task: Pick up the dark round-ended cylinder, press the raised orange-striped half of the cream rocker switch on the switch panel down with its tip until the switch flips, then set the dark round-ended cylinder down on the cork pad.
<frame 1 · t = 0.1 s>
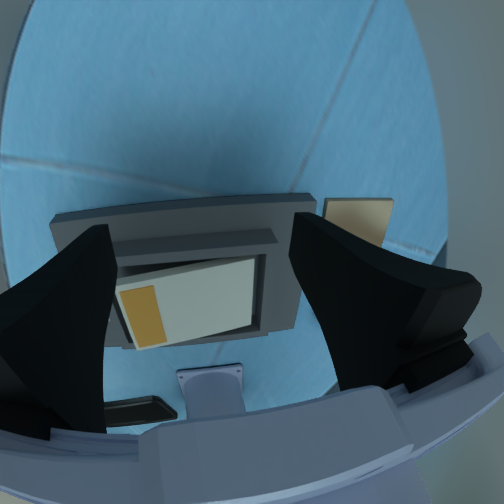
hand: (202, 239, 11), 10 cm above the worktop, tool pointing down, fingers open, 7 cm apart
rocker switch: (189, 306, 21), point 4 cm above the worktop, hinge at 10.0°
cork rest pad: (353, 233, 25), on the worktop
phone: (126, 409, 37), on the worktop
switch panel: (186, 276, 24), on the worktop
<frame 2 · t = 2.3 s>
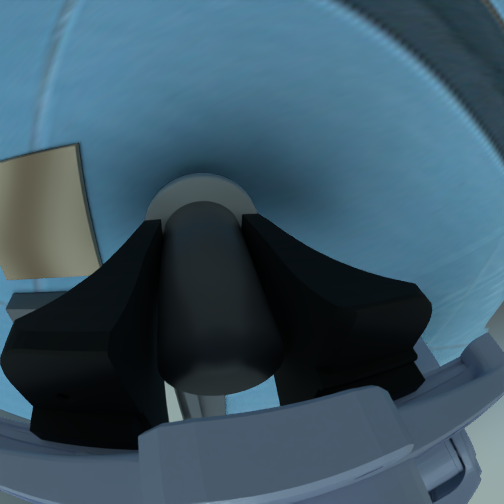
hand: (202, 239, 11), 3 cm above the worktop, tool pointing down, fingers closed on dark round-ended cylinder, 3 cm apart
dark round-ended cylinder: (198, 202, 14), on the worktop, touching gripper
rocker switch: (138, 418, 18), point 4 cm above the worktop, hinge at 10.0°
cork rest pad: (33, 219, 12), on the worktop
switch panel: (138, 380, 21), on the worktop
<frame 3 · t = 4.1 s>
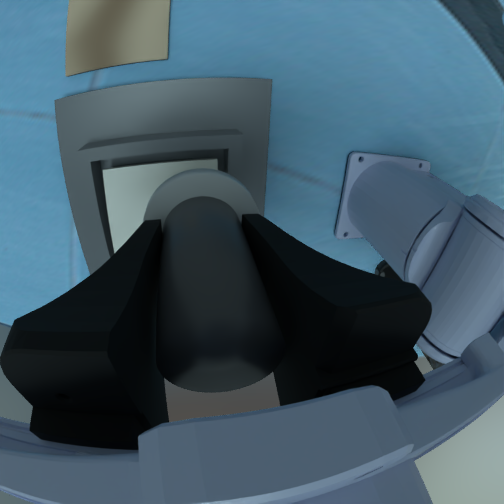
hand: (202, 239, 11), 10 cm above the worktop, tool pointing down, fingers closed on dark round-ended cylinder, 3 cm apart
dark round-ended cylinder: (198, 199, 13), point 7 cm above the worktop, touching gripper
rocker switch: (165, 240, 18), point 4 cm above the worktop, hinge at 10.0°
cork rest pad: (116, 19, 12), on the worktop
switch panel: (167, 215, 21), on the worktop
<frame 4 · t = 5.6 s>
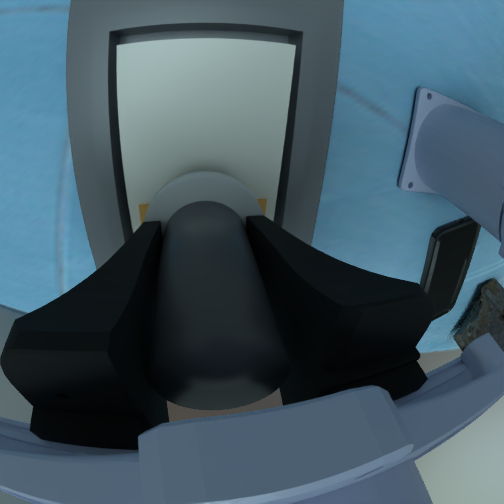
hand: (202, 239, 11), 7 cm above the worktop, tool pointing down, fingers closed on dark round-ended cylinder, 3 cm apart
dark round-ended cylinder: (202, 203, 13), point 4 cm above the worktop, touching gripper, rocker switch
geological specimen: (469, 305, 35), on the worktop
rocker switch: (202, 151, 12), point 4 cm above the worktop, hinge at -4.6°, touching dark round-ended cylinder
phone: (441, 272, 28), on the worktop
switch panel: (199, 134, 15), on the worktop
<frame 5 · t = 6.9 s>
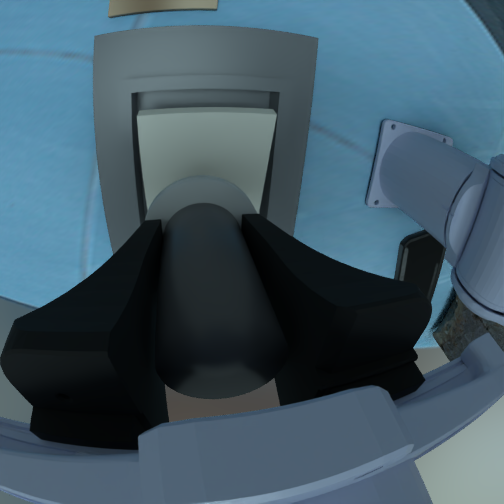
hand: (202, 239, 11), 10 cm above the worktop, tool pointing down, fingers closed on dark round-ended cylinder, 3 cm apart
dark round-ended cylinder: (198, 207, 14), point 7 cm above the worktop, touching gripper
geological specimen: (447, 305, 40), on the worktop
rocker switch: (204, 188, 17), point 4 cm above the worktop, hinge at -15.0°
phone: (414, 275, 33), on the worktop
switch panel: (201, 168, 20), on the worktop
when the fingers open (5 cm above the worktop, at t = 9.1 s): dark round-ended cylinder stays where it is, resting on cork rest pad.
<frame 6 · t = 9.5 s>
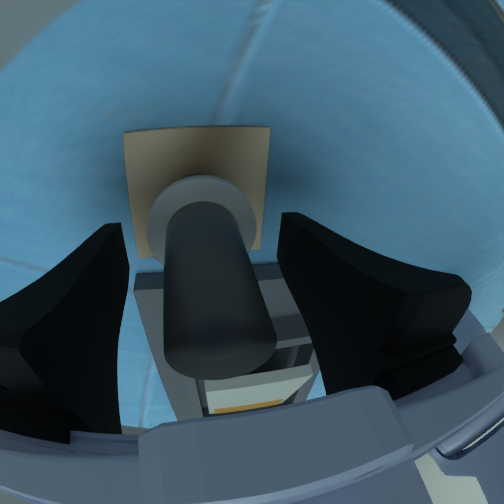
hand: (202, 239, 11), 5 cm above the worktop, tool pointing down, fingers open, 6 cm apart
dark round-ended cylinder: (197, 201, 14), point 1 cm above the worktop, touching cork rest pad
rocker switch: (251, 395, 21), point 4 cm above the worktop, hinge at -15.6°
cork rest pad: (196, 192, 15), on the worktop
switch panel: (242, 359, 24), on the worktop
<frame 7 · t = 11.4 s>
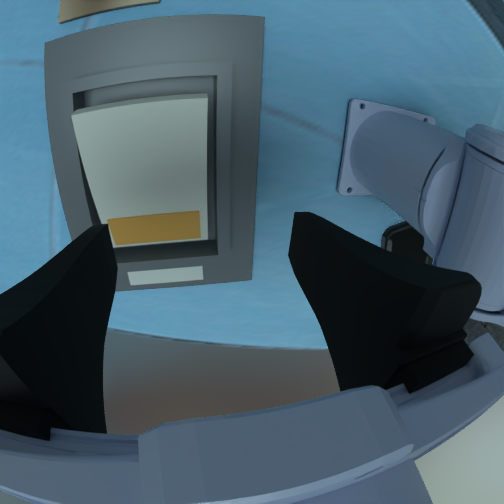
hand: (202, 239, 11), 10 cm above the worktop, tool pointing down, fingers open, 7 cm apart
geological specimen: (443, 301, 38), on the worktop
rocker switch: (147, 181, 16), point 4 cm above the worktop, hinge at -15.6°
phone: (402, 269, 31), on the worktop
switch panel: (153, 162, 18), on the worktop
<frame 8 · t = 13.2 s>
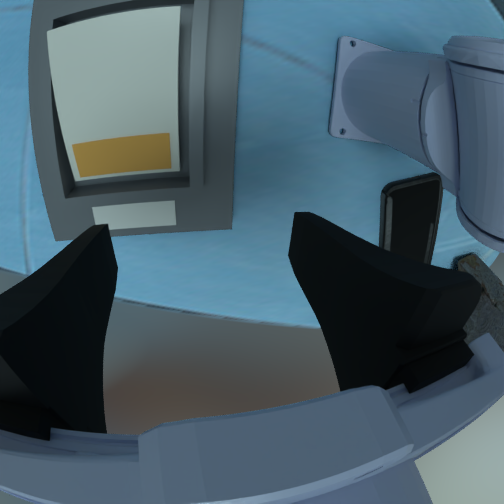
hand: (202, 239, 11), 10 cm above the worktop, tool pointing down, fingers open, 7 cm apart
geological specimen: (448, 282, 35), on the worktop
rocker switch: (115, 99, 12), point 4 cm above the worktop, hinge at -15.6°
phone: (405, 238, 28), on the worktop
switch panel: (128, 93, 15), on the worktop
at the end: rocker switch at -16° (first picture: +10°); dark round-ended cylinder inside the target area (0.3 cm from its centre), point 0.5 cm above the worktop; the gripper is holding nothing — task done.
